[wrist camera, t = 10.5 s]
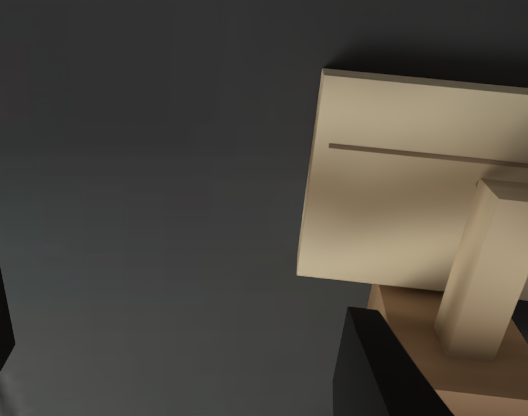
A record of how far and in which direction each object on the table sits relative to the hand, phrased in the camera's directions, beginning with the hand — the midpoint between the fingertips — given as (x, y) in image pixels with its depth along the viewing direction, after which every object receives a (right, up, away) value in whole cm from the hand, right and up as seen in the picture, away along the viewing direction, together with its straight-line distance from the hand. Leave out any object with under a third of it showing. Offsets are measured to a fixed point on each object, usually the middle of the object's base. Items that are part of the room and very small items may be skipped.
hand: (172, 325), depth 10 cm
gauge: (+9, -1, +11) cm, 14 cm away
